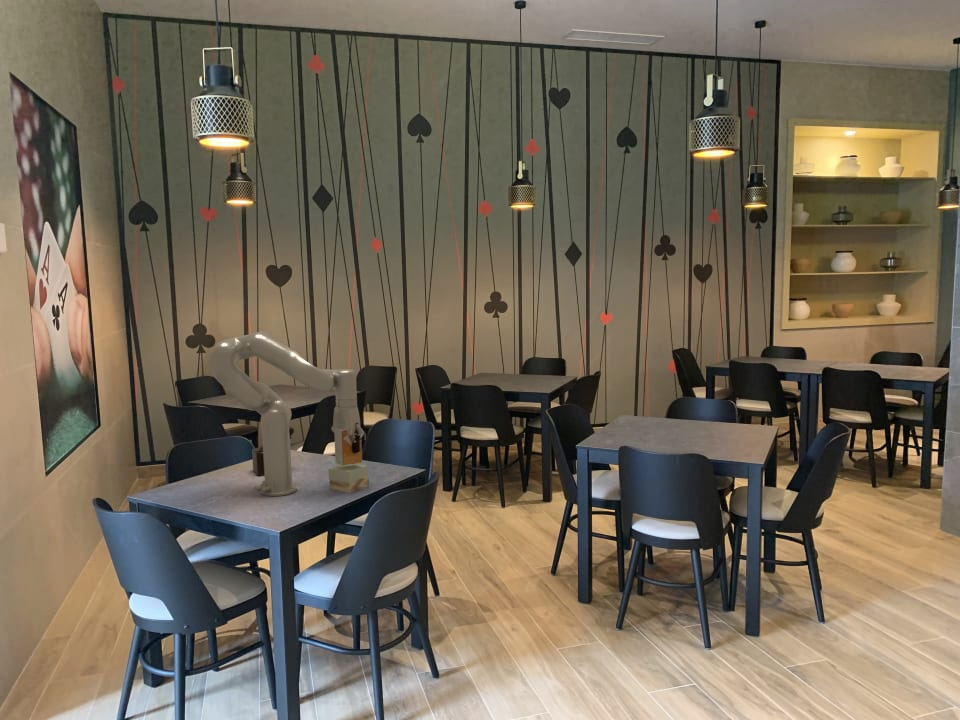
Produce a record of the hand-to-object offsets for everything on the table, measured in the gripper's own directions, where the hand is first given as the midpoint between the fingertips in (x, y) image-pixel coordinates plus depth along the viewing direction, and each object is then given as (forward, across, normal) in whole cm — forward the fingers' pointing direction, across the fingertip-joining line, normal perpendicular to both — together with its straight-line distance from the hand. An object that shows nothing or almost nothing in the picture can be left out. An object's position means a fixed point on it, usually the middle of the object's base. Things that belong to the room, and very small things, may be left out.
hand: (348, 450), depth 269 cm
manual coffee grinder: (+14, -44, 0) cm, 46 cm away
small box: (+5, 0, 0) cm, 5 cm away
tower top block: (+10, 0, 0) cm, 10 cm away
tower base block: (+14, 0, 0) cm, 14 cm away
